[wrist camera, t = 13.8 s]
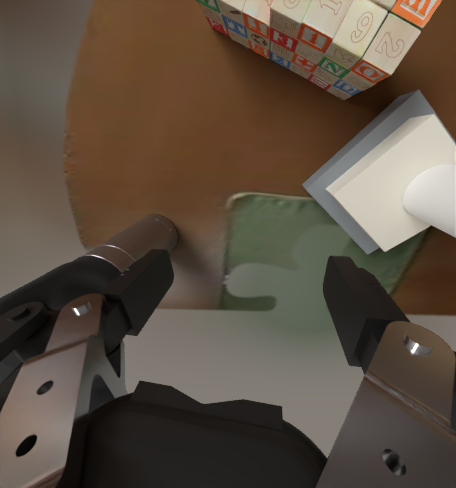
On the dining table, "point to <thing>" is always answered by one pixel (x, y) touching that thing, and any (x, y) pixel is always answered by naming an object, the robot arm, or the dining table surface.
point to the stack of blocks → (326, 36)
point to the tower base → (357, 152)
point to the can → (434, 197)
